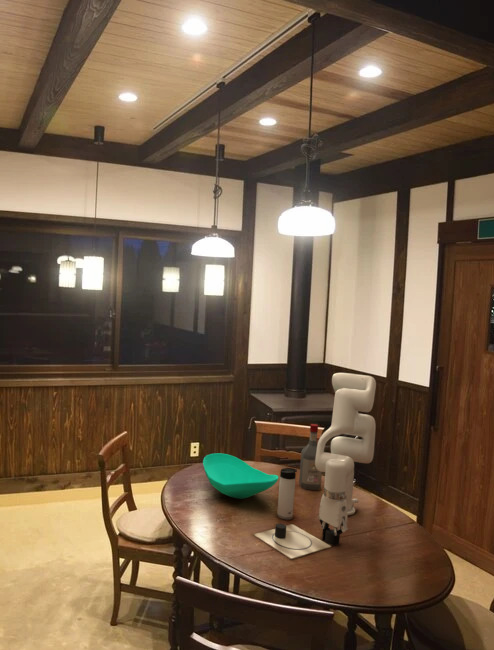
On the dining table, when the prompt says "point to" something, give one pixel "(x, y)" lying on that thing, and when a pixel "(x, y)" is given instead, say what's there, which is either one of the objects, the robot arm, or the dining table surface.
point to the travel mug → (286, 493)
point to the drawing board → (293, 542)
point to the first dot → (280, 531)
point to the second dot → (329, 536)
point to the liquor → (310, 463)
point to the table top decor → (236, 476)
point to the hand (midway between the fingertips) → (330, 541)
